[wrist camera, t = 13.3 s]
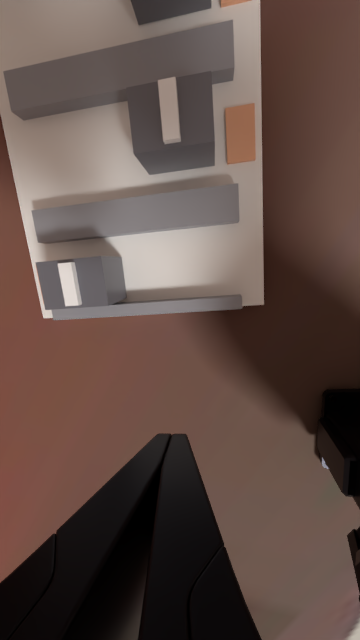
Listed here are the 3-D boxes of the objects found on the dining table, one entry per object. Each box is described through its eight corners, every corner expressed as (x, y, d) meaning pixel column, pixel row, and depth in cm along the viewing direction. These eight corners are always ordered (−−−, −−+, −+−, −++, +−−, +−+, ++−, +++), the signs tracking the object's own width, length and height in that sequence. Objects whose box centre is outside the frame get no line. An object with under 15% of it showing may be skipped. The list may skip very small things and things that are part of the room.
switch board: (254, -71, 13) (262, -134, 11) (260, 301, 18) (267, 307, 16) (-10, 1, 16) (-46, -40, 14) (53, 314, 20) (34, 321, 18)
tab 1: (121, 256, 17) (97, 255, 13) (127, 297, 18) (105, 307, 14) (66, 262, 18) (30, 262, 14) (73, 301, 18) (40, 311, 15)
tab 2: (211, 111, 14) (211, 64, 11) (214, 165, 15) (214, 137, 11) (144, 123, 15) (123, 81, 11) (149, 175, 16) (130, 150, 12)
